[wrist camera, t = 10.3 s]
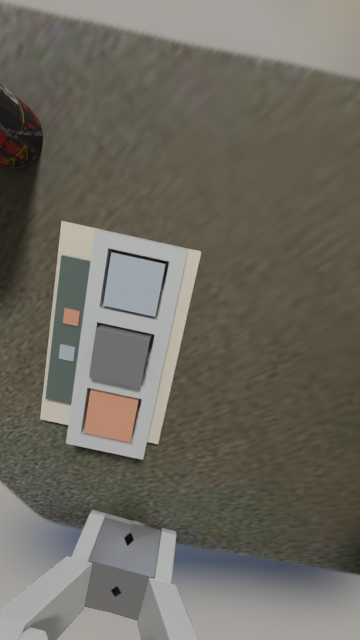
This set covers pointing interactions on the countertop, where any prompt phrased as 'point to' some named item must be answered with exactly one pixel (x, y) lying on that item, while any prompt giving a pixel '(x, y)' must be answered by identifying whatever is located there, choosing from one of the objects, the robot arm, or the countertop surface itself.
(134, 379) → the key charcoal
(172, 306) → the keypad
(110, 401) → the key terracotta
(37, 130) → the deodorant
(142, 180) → the countertop surface
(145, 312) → the key blue
